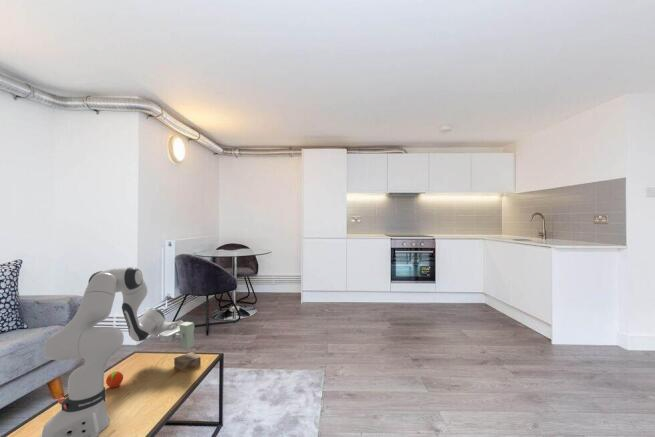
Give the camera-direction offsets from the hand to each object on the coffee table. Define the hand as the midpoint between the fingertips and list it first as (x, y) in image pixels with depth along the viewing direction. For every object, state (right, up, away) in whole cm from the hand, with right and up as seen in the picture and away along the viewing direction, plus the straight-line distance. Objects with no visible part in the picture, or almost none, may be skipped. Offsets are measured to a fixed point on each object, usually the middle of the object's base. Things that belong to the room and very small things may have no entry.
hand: (188, 333), depth 173 cm
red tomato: (-27, -19, -20) cm, 39 cm away
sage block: (-1, -8, 0) cm, 8 cm away
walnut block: (-1, -18, 0) cm, 18 cm away
